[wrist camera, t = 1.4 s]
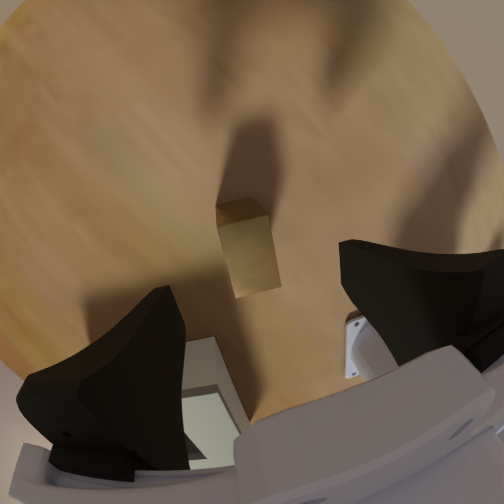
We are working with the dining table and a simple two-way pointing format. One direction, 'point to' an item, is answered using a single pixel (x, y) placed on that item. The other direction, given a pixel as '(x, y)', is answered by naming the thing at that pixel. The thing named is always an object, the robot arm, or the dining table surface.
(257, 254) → the tan rectangular block
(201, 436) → the box
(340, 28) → the dining table surface
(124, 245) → the dining table surface
